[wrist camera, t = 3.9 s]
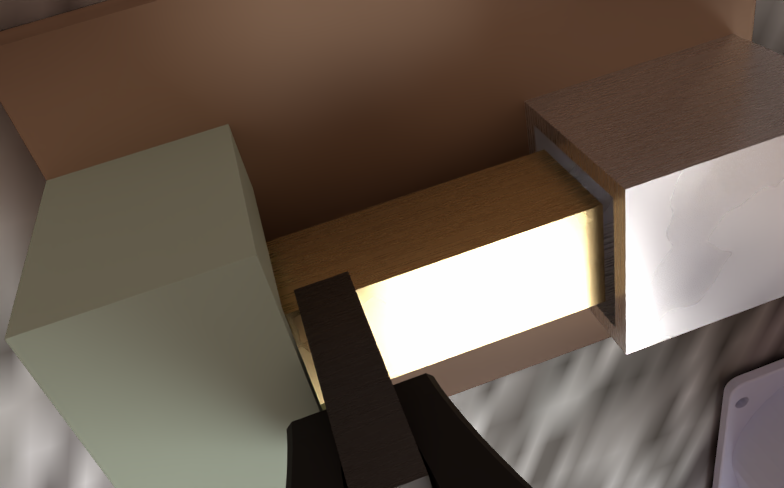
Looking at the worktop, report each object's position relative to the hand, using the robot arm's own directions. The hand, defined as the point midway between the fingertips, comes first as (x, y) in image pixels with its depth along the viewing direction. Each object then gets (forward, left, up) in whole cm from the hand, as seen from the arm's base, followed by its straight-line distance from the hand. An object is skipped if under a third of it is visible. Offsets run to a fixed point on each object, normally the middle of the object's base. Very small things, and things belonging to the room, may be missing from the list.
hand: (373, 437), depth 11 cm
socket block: (0, +2, -5) cm, 6 cm away
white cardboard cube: (0, -8, -5) cm, 9 cm away
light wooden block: (0, -1, -5) cm, 5 cm away
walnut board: (0, -3, -6) cm, 7 cm away
